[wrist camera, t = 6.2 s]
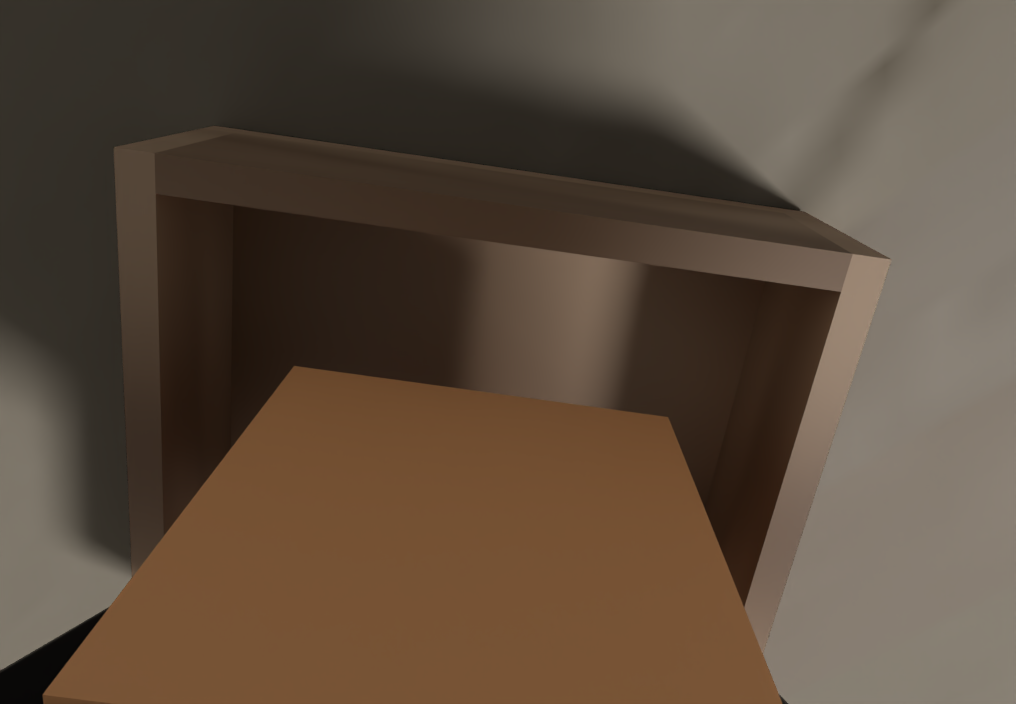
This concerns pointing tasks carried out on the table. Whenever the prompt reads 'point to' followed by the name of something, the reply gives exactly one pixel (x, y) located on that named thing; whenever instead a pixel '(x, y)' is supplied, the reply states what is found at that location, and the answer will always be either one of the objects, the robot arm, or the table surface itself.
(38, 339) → the table surface
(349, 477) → the block
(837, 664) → the table surface
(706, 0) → the table surface
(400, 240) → the tray
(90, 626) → the robot arm
